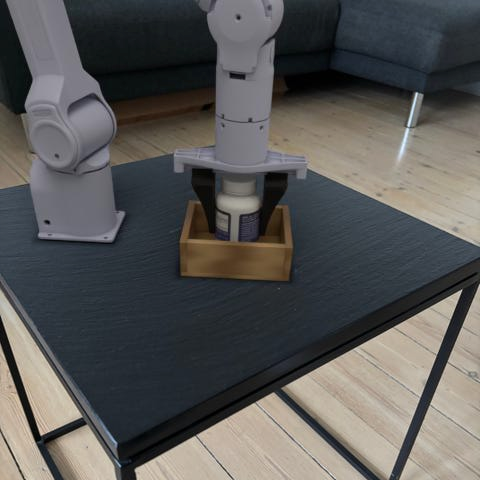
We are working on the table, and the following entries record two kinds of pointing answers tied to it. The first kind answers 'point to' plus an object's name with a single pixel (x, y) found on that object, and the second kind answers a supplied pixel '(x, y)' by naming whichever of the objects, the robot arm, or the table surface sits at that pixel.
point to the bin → (236, 249)
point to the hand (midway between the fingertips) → (237, 230)
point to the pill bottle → (238, 209)
